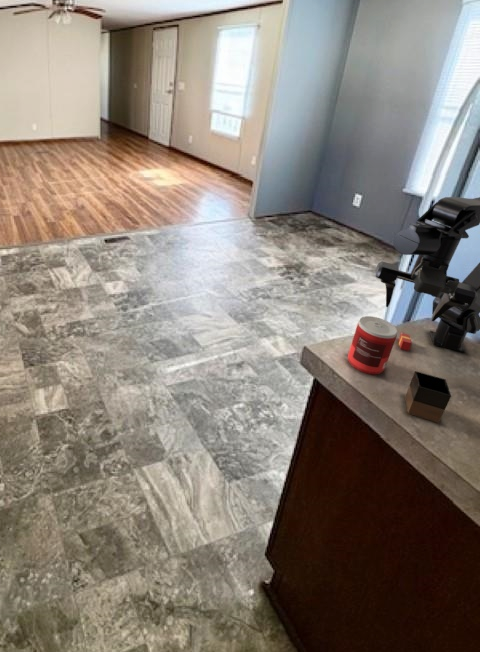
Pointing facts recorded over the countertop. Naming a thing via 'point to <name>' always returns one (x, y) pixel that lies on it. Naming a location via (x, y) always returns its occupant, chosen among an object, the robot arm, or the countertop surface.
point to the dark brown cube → (422, 409)
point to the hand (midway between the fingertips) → (409, 313)
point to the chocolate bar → (405, 341)
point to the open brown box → (430, 390)
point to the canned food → (372, 344)
